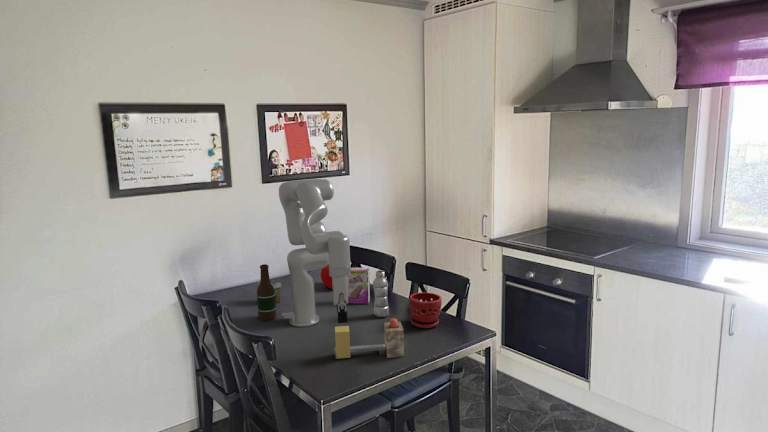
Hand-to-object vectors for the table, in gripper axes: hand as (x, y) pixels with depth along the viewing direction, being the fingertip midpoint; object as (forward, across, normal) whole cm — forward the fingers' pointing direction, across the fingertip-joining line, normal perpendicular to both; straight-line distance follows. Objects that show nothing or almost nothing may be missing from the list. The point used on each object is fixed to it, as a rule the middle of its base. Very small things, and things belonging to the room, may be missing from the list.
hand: (342, 317), depth 178 cm
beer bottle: (+14, -43, -31) cm, 55 cm away
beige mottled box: (+15, -1, +18) cm, 24 cm away
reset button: (+7, -1, +18) cm, 19 cm away
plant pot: (+15, -25, +35) cm, 45 cm away
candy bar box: (+14, -56, +9) cm, 58 cm away
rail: (+15, -1, +6) cm, 16 cm away
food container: (+14, -63, -33) cm, 72 cm away
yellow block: (+14, -1, 0) cm, 14 cm away
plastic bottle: (+14, -37, +18) cm, 43 cm away
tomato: (+13, -81, -1) cm, 82 cm away
